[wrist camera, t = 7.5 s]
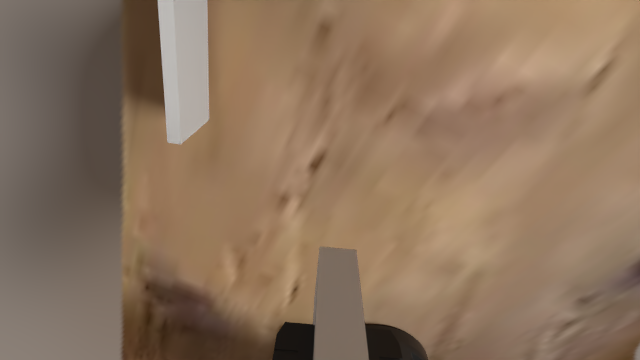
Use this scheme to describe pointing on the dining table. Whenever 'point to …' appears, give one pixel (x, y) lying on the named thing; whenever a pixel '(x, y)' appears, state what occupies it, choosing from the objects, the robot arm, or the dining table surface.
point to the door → (184, 66)
